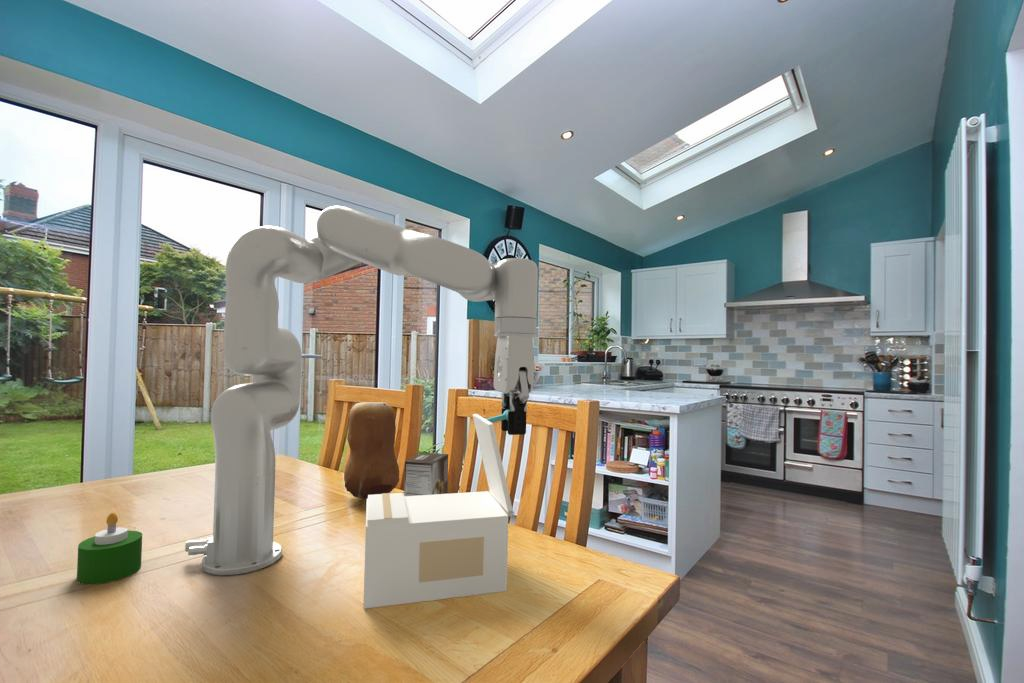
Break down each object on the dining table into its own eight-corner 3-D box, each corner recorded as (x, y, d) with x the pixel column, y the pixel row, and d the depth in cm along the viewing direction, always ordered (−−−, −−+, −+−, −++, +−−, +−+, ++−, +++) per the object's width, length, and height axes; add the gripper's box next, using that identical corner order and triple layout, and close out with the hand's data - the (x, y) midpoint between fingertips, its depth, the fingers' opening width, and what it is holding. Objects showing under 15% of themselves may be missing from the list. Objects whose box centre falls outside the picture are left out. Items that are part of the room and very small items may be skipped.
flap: (487, 424, 77) (524, 413, 79) (471, 413, 90) (503, 404, 91) (508, 517, 78) (544, 505, 80) (489, 494, 90) (520, 484, 92)
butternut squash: (376, 488, 132) (378, 397, 133) (409, 497, 125) (411, 401, 125) (331, 500, 121) (334, 401, 122) (364, 511, 113) (367, 405, 114)
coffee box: (419, 525, 105) (421, 451, 106) (447, 528, 104) (449, 453, 104) (402, 541, 96) (404, 460, 97) (432, 544, 95) (434, 462, 95)
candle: (88, 566, 83) (91, 507, 83) (147, 559, 86) (149, 502, 86) (67, 588, 75) (69, 524, 75) (132, 579, 78) (134, 517, 79)
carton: (363, 609, 71) (365, 521, 71) (364, 567, 84) (366, 493, 85) (506, 591, 77) (508, 510, 77) (486, 555, 90) (488, 486, 91)
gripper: (484, 330, 92) (482, 425, 92) (507, 326, 76) (505, 441, 76) (521, 331, 94) (519, 424, 94) (551, 327, 79) (549, 440, 78)
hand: (513, 431), depth 85 cm, fingers closed on flap, 3 cm apart
